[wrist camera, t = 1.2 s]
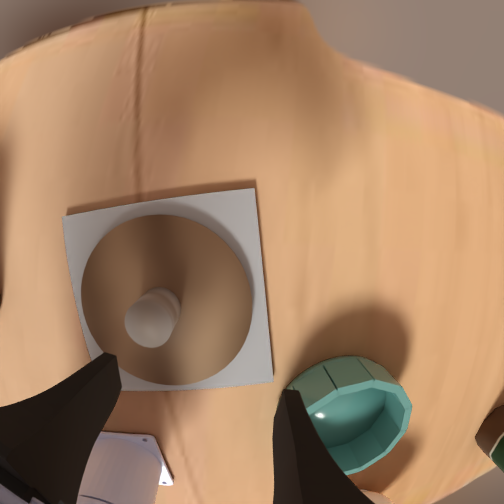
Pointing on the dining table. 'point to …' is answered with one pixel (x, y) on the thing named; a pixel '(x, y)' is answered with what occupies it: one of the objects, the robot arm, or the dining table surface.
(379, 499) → the lidded jar
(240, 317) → the lid
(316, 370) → the bowl
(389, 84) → the dining table surface
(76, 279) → the mat
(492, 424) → the beer bottle
